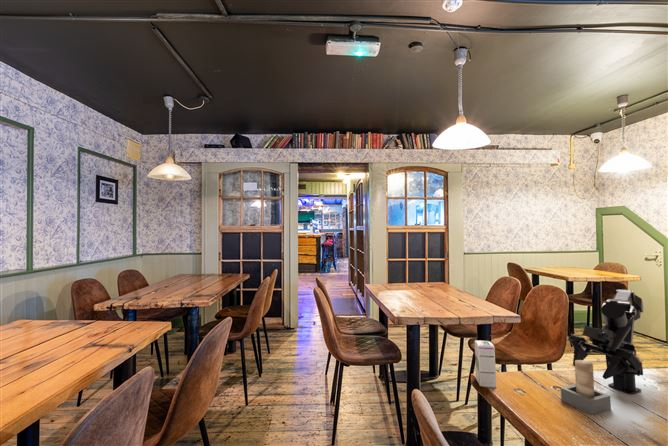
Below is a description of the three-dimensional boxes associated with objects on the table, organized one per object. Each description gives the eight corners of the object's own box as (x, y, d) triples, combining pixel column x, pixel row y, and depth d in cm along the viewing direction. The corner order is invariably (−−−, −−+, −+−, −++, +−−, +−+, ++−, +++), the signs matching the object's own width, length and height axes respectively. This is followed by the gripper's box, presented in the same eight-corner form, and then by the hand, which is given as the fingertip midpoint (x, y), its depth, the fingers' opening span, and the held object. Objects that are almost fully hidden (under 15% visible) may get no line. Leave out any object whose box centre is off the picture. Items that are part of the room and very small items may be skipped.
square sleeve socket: (579, 395, 104) (579, 383, 104) (610, 409, 96) (610, 395, 96) (561, 400, 101) (560, 387, 101) (591, 414, 92) (591, 401, 93)
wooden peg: (582, 399, 101) (580, 359, 102) (598, 406, 97) (596, 364, 97) (573, 402, 100) (571, 361, 100) (588, 409, 95) (587, 366, 96)
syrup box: (497, 388, 109) (495, 346, 110) (478, 386, 110) (477, 344, 111) (492, 380, 115) (491, 340, 116) (475, 379, 116) (474, 339, 117)
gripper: (570, 311, 110) (546, 345, 107) (632, 325, 92) (605, 367, 89) (589, 331, 112) (565, 366, 109) (652, 350, 94) (627, 392, 91)
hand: (588, 371), depth 99 cm, fingers open, 9 cm apart
